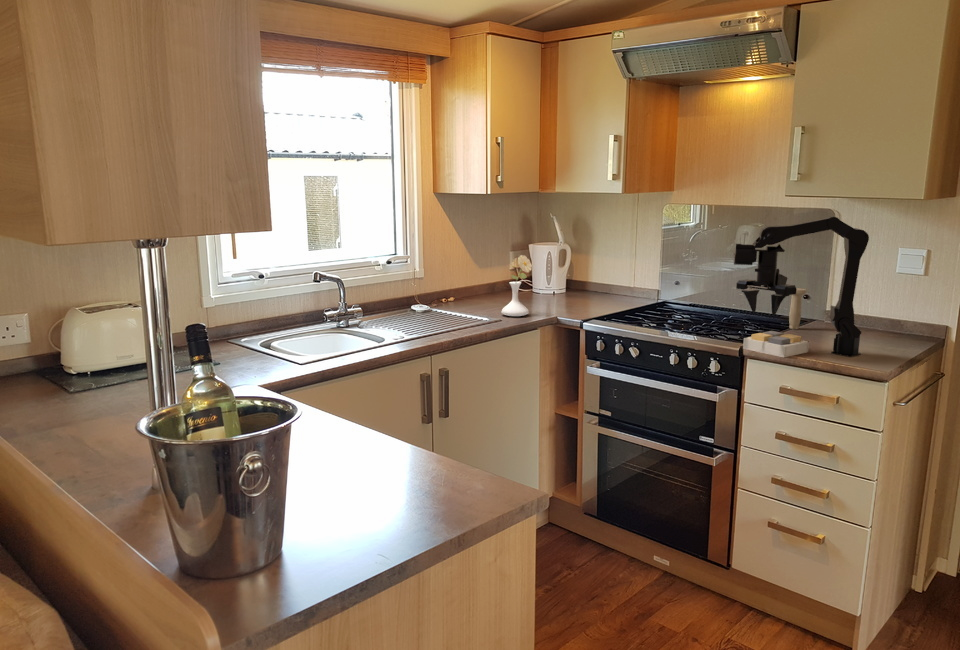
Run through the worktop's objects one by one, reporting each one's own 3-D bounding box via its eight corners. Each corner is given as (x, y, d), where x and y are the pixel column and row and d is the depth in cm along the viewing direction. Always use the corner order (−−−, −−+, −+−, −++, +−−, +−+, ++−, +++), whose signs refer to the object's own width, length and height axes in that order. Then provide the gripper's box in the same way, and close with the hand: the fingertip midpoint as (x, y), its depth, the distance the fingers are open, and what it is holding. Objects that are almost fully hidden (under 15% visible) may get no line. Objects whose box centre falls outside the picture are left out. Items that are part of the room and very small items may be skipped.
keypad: (808, 352, 237) (808, 341, 236) (783, 357, 230) (784, 346, 229) (767, 343, 249) (768, 333, 248) (743, 348, 242) (743, 338, 241)
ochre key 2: (800, 345, 237) (801, 336, 237) (792, 347, 235) (793, 338, 234) (787, 342, 241) (788, 333, 240) (779, 344, 239) (780, 335, 238)
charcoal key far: (783, 341, 243) (783, 333, 242) (774, 343, 240) (775, 334, 239) (770, 339, 246) (771, 330, 246) (762, 341, 244) (762, 332, 243)
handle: (800, 330, 271) (803, 290, 268) (782, 328, 275) (785, 288, 272) (805, 329, 274) (808, 289, 271) (788, 326, 279) (791, 287, 276)
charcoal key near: (789, 347, 234) (790, 338, 233) (780, 349, 232) (781, 340, 231) (776, 345, 238) (777, 336, 237) (768, 346, 235) (768, 337, 235)
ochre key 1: (771, 344, 239) (772, 335, 239) (763, 345, 237) (763, 336, 236) (759, 341, 243) (760, 332, 242) (750, 343, 240) (751, 334, 240)
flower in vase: (510, 319, 295) (510, 257, 290) (496, 314, 305) (496, 254, 300) (537, 316, 301) (538, 255, 296) (522, 312, 311) (523, 253, 306)
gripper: (808, 266, 232) (804, 315, 235) (757, 261, 247) (754, 307, 250) (787, 268, 226) (783, 318, 229) (736, 263, 241) (733, 310, 244)
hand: (763, 313), depth 238 cm, fingers open, 7 cm apart
